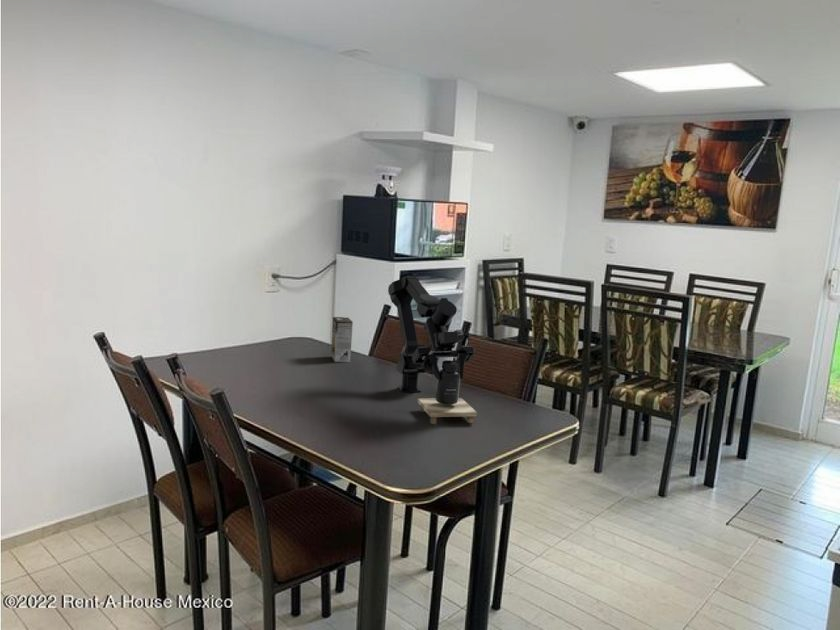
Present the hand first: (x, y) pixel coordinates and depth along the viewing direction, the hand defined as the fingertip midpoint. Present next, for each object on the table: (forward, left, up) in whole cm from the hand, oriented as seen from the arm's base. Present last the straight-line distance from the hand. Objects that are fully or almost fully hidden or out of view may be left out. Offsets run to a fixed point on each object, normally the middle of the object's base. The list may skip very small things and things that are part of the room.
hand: (450, 379), depth 187 cm
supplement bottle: (-1, 0, -7) cm, 7 cm away
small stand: (-1, 0, -12) cm, 12 cm away
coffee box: (-72, -21, -12) cm, 76 cm away
